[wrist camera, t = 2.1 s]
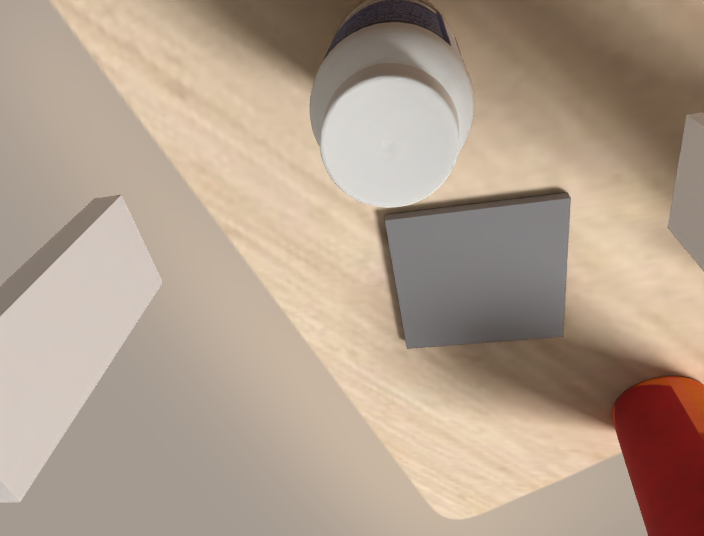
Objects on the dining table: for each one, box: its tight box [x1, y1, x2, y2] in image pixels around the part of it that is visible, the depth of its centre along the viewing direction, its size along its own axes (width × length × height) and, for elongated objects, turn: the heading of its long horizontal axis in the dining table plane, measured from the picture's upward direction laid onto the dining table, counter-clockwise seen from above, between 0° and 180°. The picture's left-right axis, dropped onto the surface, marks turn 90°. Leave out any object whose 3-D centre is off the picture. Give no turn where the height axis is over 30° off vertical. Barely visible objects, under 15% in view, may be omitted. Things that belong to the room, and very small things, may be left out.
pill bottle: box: [310, 0, 474, 208], centre depth 19 cm, size 5×5×10 cm
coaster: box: [385, 192, 571, 349], centre depth 29 cm, size 9×9×1 cm
